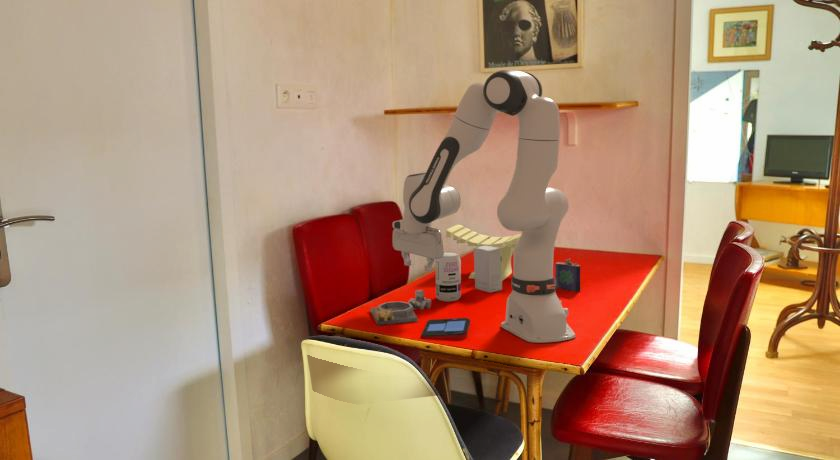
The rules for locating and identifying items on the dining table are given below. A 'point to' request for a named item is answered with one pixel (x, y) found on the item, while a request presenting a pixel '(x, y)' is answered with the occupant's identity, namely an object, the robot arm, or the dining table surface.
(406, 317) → the carrier board
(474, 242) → the slatted curved stool
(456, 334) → the game console
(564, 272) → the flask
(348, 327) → the dining table surface
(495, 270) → the skincare box
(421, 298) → the planet gear
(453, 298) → the supplement can
